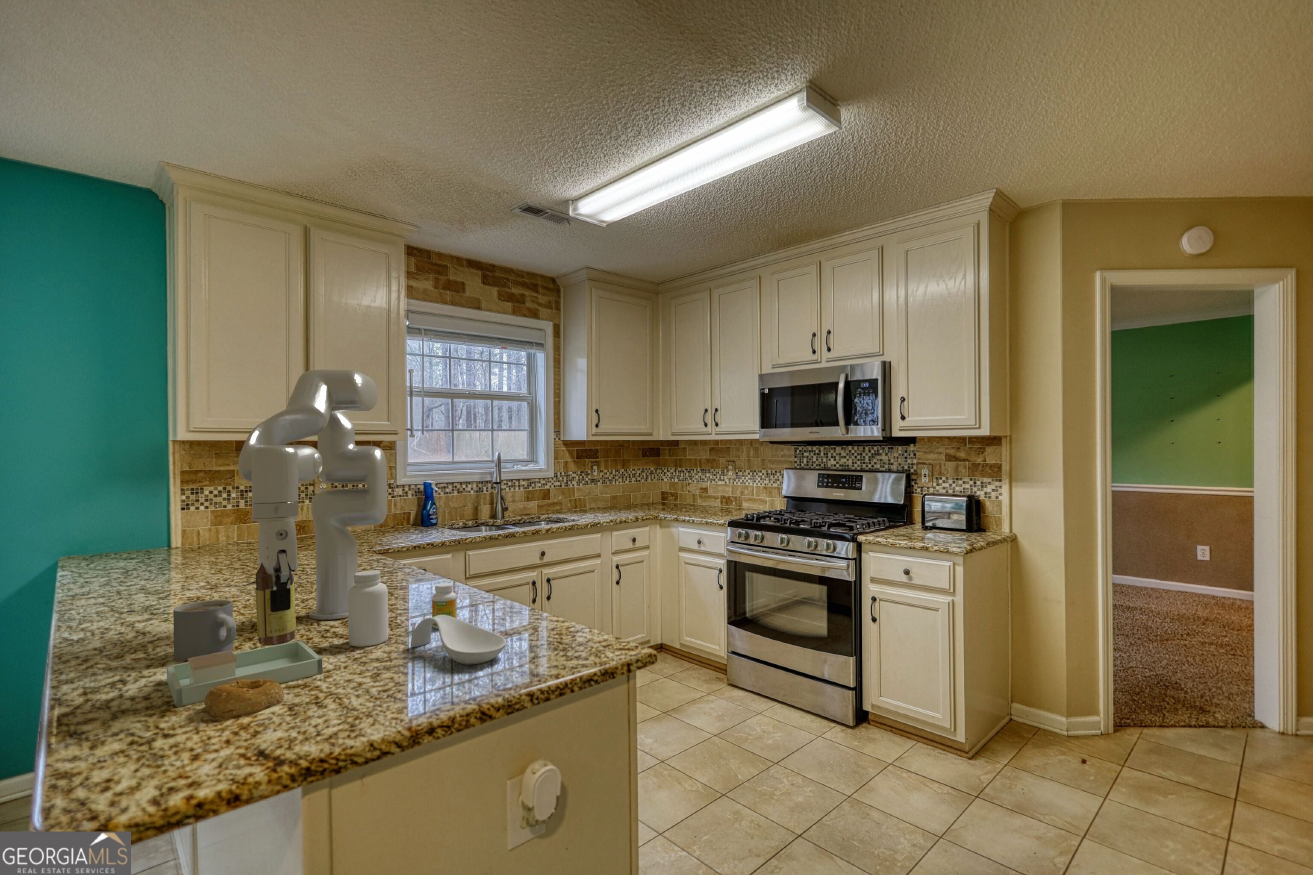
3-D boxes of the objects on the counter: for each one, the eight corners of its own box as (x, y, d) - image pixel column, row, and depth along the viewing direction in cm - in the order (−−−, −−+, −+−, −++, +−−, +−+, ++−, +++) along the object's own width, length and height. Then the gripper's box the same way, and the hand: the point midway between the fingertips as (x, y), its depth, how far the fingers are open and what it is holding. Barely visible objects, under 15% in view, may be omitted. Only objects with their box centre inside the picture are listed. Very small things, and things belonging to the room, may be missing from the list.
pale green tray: (300, 655, 129) (300, 640, 129) (322, 675, 118) (322, 658, 118) (167, 683, 115) (166, 666, 115) (176, 709, 103) (176, 689, 103)
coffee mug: (164, 657, 130) (164, 608, 130) (218, 643, 138) (218, 597, 138) (196, 668, 123) (195, 616, 123) (251, 653, 131) (250, 604, 132)
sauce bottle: (303, 636, 122) (302, 533, 122) (281, 647, 116) (280, 538, 116) (271, 636, 123) (271, 533, 123) (247, 646, 117) (247, 538, 117)
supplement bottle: (434, 630, 146) (433, 587, 146) (430, 624, 151) (430, 583, 151) (458, 627, 148) (457, 585, 149) (454, 621, 153) (453, 581, 153)
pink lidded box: (230, 675, 117) (230, 649, 118) (237, 684, 113) (236, 658, 113) (187, 684, 113) (187, 658, 113) (192, 694, 108) (192, 667, 108)
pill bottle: (339, 645, 136) (338, 574, 136) (369, 634, 143) (368, 567, 144) (367, 649, 133) (367, 577, 133) (396, 638, 140) (396, 570, 141)
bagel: (275, 715, 101) (275, 685, 101) (194, 727, 97) (193, 695, 97) (291, 693, 110) (290, 665, 110) (217, 703, 107) (216, 674, 107)
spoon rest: (518, 657, 128) (518, 621, 128) (472, 675, 118) (471, 636, 118) (441, 638, 140) (441, 606, 141) (393, 653, 131) (393, 618, 131)
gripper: (309, 513, 116) (310, 612, 116) (287, 507, 129) (287, 596, 129) (262, 516, 111) (262, 620, 111) (243, 510, 124) (244, 603, 124)
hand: (276, 606), depth 120 cm, fingers closed on sauce bottle, 6 cm apart
